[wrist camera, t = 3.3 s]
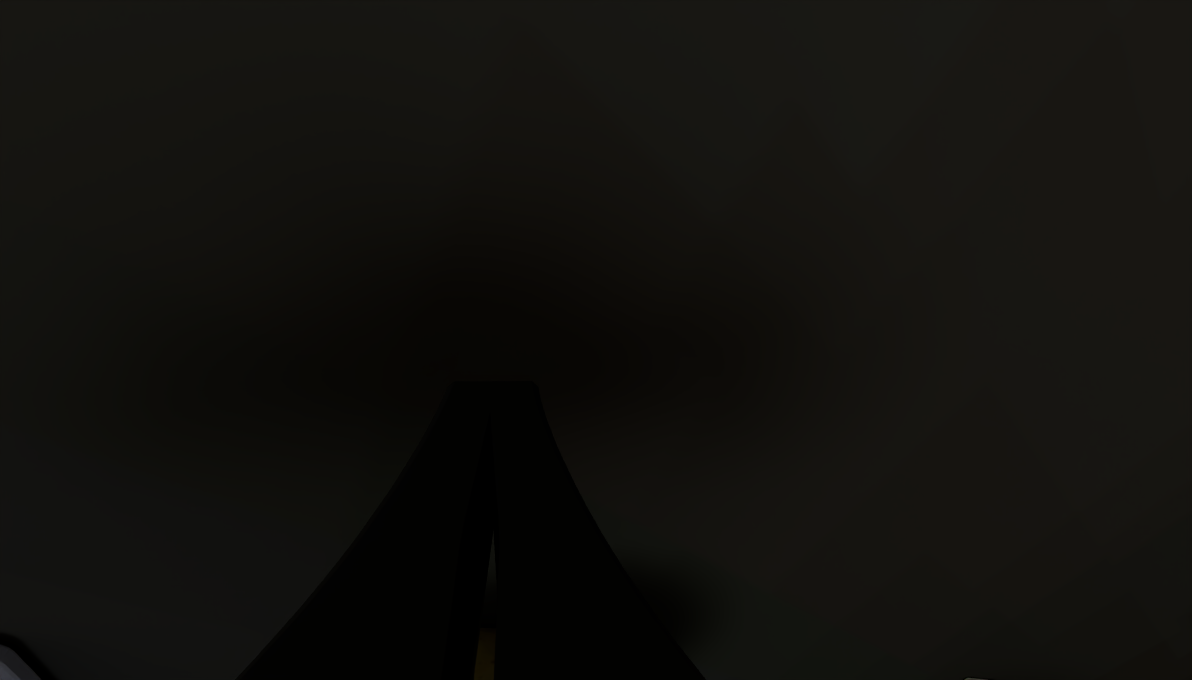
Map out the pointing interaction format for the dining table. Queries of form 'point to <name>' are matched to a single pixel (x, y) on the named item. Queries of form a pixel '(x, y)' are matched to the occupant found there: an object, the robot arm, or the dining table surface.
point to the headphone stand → (974, 679)
